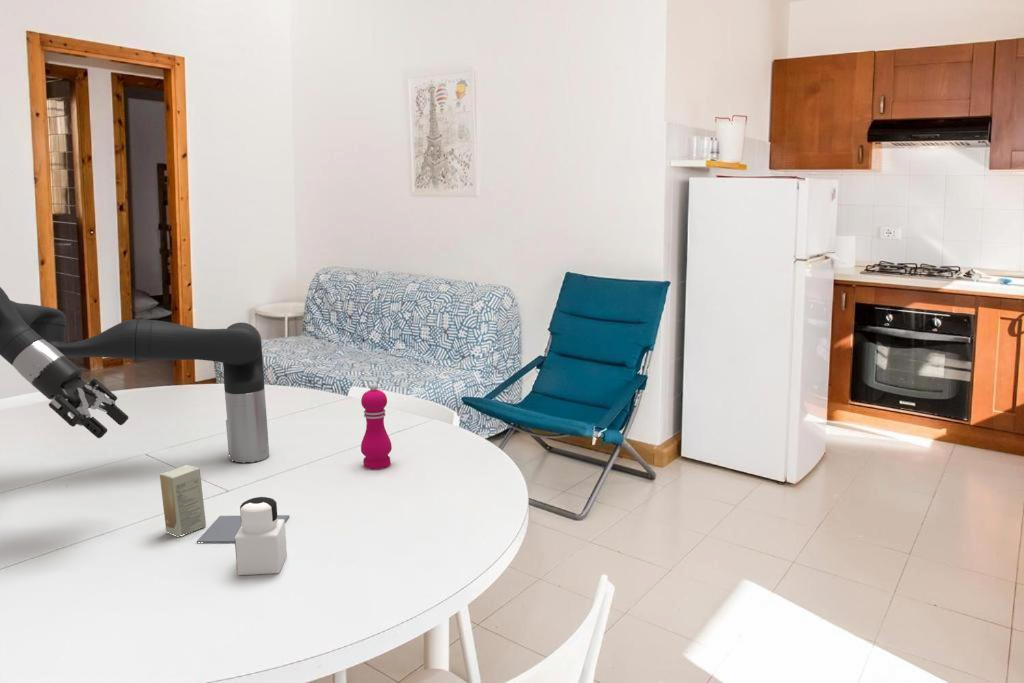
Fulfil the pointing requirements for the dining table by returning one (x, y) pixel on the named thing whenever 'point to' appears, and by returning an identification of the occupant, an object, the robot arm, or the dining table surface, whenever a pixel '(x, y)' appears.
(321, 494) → the dining table surface
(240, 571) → the medicine bottle
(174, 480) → the skincare box
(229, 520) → the grey rubber mat
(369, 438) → the pepper mill
